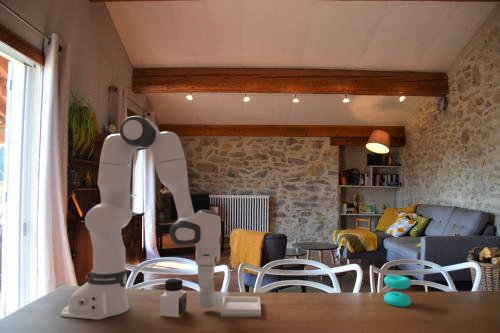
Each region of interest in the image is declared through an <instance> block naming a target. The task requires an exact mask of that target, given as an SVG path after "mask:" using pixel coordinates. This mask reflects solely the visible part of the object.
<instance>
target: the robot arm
mask: <svg viewBox="0 0 500 333" xmlns="http://www.w3.org/2000/svg"><path fill="white" fill-rule="evenodd" d="M148 149H149V150H150V151H151V154H152V156H153V160H154V165H155V171H156V174H157V176H158V179H159V181H160V183H161V184H163V186H164V187H166V188H167V189H168V190H169V191H170V193H171V194H172V197H173V201H174V204H175V209H176V211H177V220H175V221H174V223H173V224H172V225H171V226H170V228H169V232H168V233H169V234H168V235H169V237H170V240H171V242H173V244H175V245H176V246H178V247H179V246H180V247H186V246H191V245H195V264H196V266H197V279H198V280H197V282H198V287H199V289H200V288H203V297H208V293H209V291H208V290H209V287H210V284H211V281H212V279H214V275H215V266H217V262H219V261H220V260H221V243H220V242H221V241H220V238H221V234H222V230H221V229H222V225H221V216H220V215H219V213H218V212H216V211H214V210H209V209H200V210H198V211H197V212H195V209H194V206H193V200H192V197H191V192H190V187H189V178H188V167H187V160H186V156H185V152H184V148H183V146H182V142H181V140H180V138H179V136H178V134H176V133H174V132H173V131H161V130H160V127H159V126H158V125H157V124H156V123H155V122H153V121H152V120H150V118H149V119H148V118H146V117H142V116H140V115H133V116H129V117H126V118H125V119H124V120H123V121H122V122H121V124H120V126H119V133H113V134H110V135H108V136H106V137H105V139H104V141H103V145H102V148H101V152H100V156H99V158H100V159H99V168H98V176H97V187H98V188H99V193H100V203H99V204H96V205H95V206H93V207H92V208H91V209H89V210H88V211H87V213H86V215H85V217H84V224H85V227H86V229H87V230H88V232H89V235H90V241H91V245H92V270H90V272H88V273H87V274H86V275H85V280H86V279H87V281H86V282H85V283H84V284H82V286H80V287H79V288H78V289H76V290H75V291H74V292H73V293H72V294H71V296H70V298H69V302H68V305H66V306H65V307H63V308H62V310H61V312H60V315H61V317H64V318H66V317H67V318H75V319H76V318H78V319H88V320H89V319H90V320H103V319H106V318H108V317H113V316H117V315H121V314H123V313H125V312H127V311H128V310H129V309H130V305H129V302H128V296H127V286H126V285H127V279H128V276H127V268H126V246H125V245H124V241H123V234H122V229H124V228H125V227H126V226H128V224H129V223H130V222H131V220H132V218H133V217H132V216H133V210H132V208H131V203H132V202H131V192H130V190H131V188H130V186H131V185H130V184H131V175H132V165H133V156H134V153H135V152H136V151H142V150H148Z"/></svg>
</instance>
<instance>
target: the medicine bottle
mask: <svg viewBox="0 0 500 333" xmlns="http://www.w3.org/2000/svg"><path fill="white" fill-rule="evenodd" d="M159 301H160V302H159V303H160V304H159V306H160V308H159V316H160V317H166V318H167V317H168V318H177V319H178V318H180V317H182V315H183V314H184V313H186V311H187V291H186V290H183V280H182V279H181V278H177V277H173V278H168V279H167V280H165V282H164V293H162V294H161V295H160V299H159Z"/></svg>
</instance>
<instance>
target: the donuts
mask: <svg viewBox="0 0 500 333" xmlns="http://www.w3.org/2000/svg"><path fill="white" fill-rule="evenodd" d="M383 282H384V284H385V285H386V286H387V287H389V288H393V289H397V290H404V289H408V288H410V287H411V286H412V280H411V279H410V278H409V277H406V276H403V275H398V274H389V275H385V277H384V279H383ZM383 300H384V302H385V303H386V304H388V305H390V306H394V307H401V308H402V307H403V308H405V307H409V306H410V305H411V304H412V299H411V297H410V296H409V295H407V294H406V293H403V292H399V291H390V292H387V293H385V294H384V295H383Z"/></svg>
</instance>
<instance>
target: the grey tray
mask: <svg viewBox="0 0 500 333" xmlns="http://www.w3.org/2000/svg"><path fill="white" fill-rule="evenodd" d="M261 306H262V305H261V298H260V296H223V297H222V302H221V307H220V317H221V318H262V307H261Z"/></svg>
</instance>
